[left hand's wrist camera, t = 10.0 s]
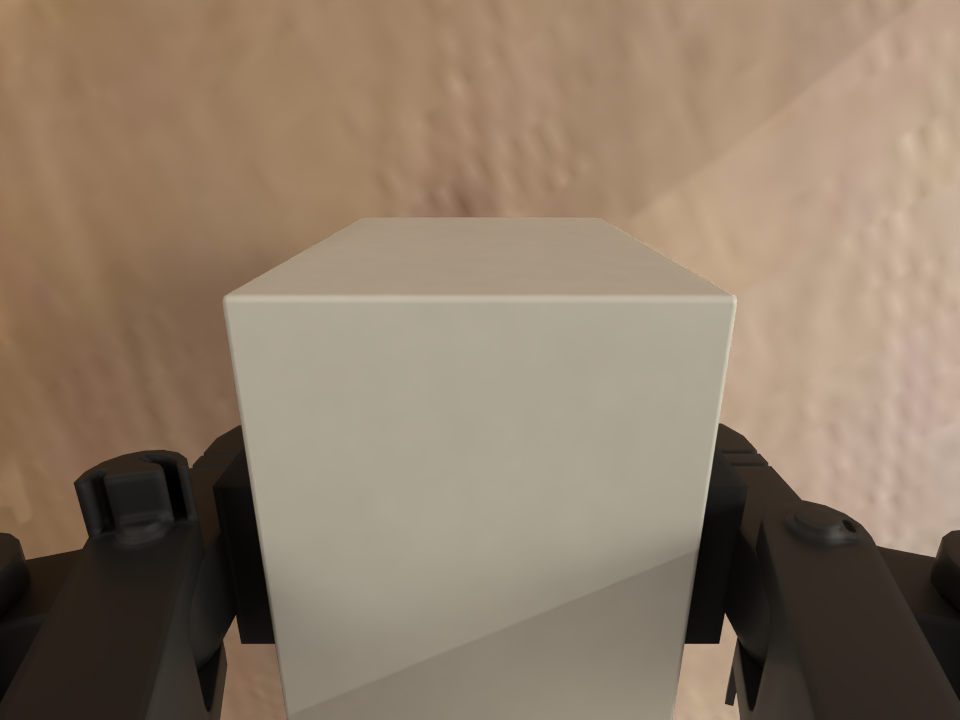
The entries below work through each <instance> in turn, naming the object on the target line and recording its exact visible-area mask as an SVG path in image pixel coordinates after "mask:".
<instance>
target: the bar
mask: <svg viewBox="0 0 960 720" xmlns="http://www.w3.org/2000/svg"><path fill="white" fill-rule="evenodd" d="M736 308H737V299H736V296H734V295H733V294H731V293H729V292H727V291H726V290H724V289H722V288H720V287H719V286H717V285H715V284H713V283H712V282H710V281H708V280H706V279H705V278H703V277H701V276H699V275H698V274H696V273H694V272H693V271H691V270H689V269H687V268H686V267H684V266H682V265H680V264H679V263H677V262H675V261H673V260H672V259H670V258H668V257H666V256H665V255H663V254H661V253H659V252H658V251H656V250H654V249H653V248H651V247H649V246H647V245H646V244H644V243H642V242H640V241H639V240H637V239H635V238H633V237H632V236H630V235H628V234H626V233H625V232H623V231H621V230H619V229H618V228H616V227H614V226H612V225H611V224H609V223H607V222H606V221H604V220H602V219H600V218H510V217H363V218H360V219H359V220H357V221H355V222H353V223H352V224H350V225H348V226H346V227H345V228H343V229H341V230H339V231H338V232H336V233H334V234H332V235H331V236H329V237H327V238H325V239H323V240H322V241H320V242H318V243H316V244H315V245H313V246H311V247H309V248H308V249H306V250H304V251H302V252H301V253H299V254H297V255H295V256H294V257H292V258H290V259H288V260H287V261H285V262H283V263H281V264H279V265H278V266H276V267H274V268H272V269H271V270H269V271H267V272H265V273H264V274H262V275H260V276H258V277H257V278H255V279H253V280H251V281H250V282H248V283H246V284H244V285H243V286H241V287H239V288H237V289H236V290H234V291H232V292H230V293H228V294H227V295H225V296H224V298H223V310H224V316H225V322H226V329H227V335H228V342H229V348H230V355H231V361H232V368H233V374H234V380H235V387H236V393H237V400H238V406H239V413H240V419H241V426H242V432H243V438H244V445H245V451H246V458H247V464H248V471H249V477H250V484H251V490H252V496H253V503H254V509H255V516H256V522H257V529H258V535H259V542H260V548H261V555H262V561H263V567H264V574H265V580H266V587H267V593H268V600H269V606H270V613H271V619H272V625H273V632H274V638H275V645H276V651H277V658H278V664H279V671H280V677H281V683H282V690H283V696H284V703H285V709H286V716H287V720H673V713H674V707H675V701H676V694H677V688H678V681H679V675H680V668H681V662H682V656H683V649H684V643H685V636H686V630H687V623H688V617H689V611H690V604H691V598H692V591H693V585H694V578H695V572H696V566H697V559H698V553H699V546H700V540H701V533H702V527H703V521H704V514H705V508H706V501H707V495H708V488H709V482H710V476H711V469H712V463H713V456H714V450H715V443H716V437H717V431H718V424H719V418H720V411H721V405H722V398H723V392H724V386H725V379H726V373H727V366H728V360H729V353H730V347H731V341H732V334H733V328H734V321H735V315H736Z"/></svg>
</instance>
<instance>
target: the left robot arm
mask: <svg viewBox="0 0 960 720" xmlns="http://www.w3.org/2000/svg"><path fill="white" fill-rule="evenodd" d="M74 486H75V489H76V493H77V496H78V500H79V503H80V507H81V510H82V514H83V518H84V521H85V525H86V528H87V532H88V535H89V538H88V540H87V542H86V544H85V545H84V547H83V549H80V550H76V551H71V552H66V553H61V554H55V555H50V556H45V557H40V558H35V559H29V560H26V559H25V556H24V553H23V550H22V547H21V544H20V541H19V540H18V539H17V538H15V537H14V536H12V535H11V534H8V533H0V720H220V715H221V707H222V700H223V693H224V685H225V678H226V671H227V659H226V652H225V647H224V642H223V638H224V637H225V635H226V633H227V631H228V629H229V627H230V625H231V623H232V621H233V619H234V617H235V615H236V617H237V623H238V628H239V634H240V639H241V644H275V638H274V632H273V625H272V619H271V613H270V606H269V600H268V593H267V587H266V580H265V574H264V567H263V561H262V555H261V548H260V542H259V535H258V529H257V522H256V516H255V509H254V503H253V496H252V490H251V484H250V477H249V471H248V464H247V458H246V451H245V445H244V438H243V432H242V426H241V425H239V426H237V427H236V428H234V429H232V430H230V431H229V432H227V433H225V434H223V435H222V436H220V437H218V438H217V439H216V440H215V441H214V442H213V443H212V444H211V445H210V447H209V448H208V449H207V450H206V451H205V452H204V456H201V457H200V458H199V459H198V460H197V461H196V462H195V463H194V464H193V468H190V469H189V467H188V462H187V458H185V457H184V456H182V455H181V454H179V453H177V452H172V451H166V450H151V451H141V452H136V453H131V454H126V455H122V456H119V457H116V458H113V459H110V460H108V461H105V462H102V463H100V464H98V465H97V466H95V467H93V468H91V469H89V470H88V471H86V472H84V473H83V474H82V475H81V476H80V477H79V478H78V479H77V480H76V481H75V482H74ZM725 613H726V615H727V617H728V619H729V621H730V623H731V625H732V627H733V629H734V631H735V632H736V634H737V636H738V637H737V642H736V647H735V652H734V657H733V662H732V667H731V672H730V677H729V682H728V687H727V693H726V700H725V704H728V705H732V706H733V704H734V699H735V695H736V693H737V699H738V706H739V713H740V720H960V530H957V531H951V532H950V533H948V534H947V535H945V536H944V537H942V540H941V543H940V546H939V549H938V552H937V555H936V558H935V557H930V556H924V555H919V554H914V553H909V552H903V551H898V550H893V549H888V548H883V547H879V546H876V544H875V542H874V541H873V539H872V537H871V535H870V534H869V533H868V532H867V531H866V530H865V528H864V527H863V526H862V525H861V524H860V523H858V522H857V521H855V520H854V519H852V518H851V517H849V516H848V515H846V514H844V513H842V512H840V511H837V510H835V509H832V508H830V507H828V506H825V505H821V504H817V503H813V502H809V501H804V500H801V499H800V498H799V496H798V495H797V494H796V493H795V492H794V491H793V490H792V489H791V488H790V487H789V485H788V484H787V483H786V482H785V481H784V480H783V479H782V478H781V477H780V476H779V474H778V473H777V472H776V471H775V470H774V469H773V468H772V467H771V466H768V462H767V461H766V460H765V459H764V458H763V457H762V456H761V455H760V454H757V450H756V449H755V448H754V447H753V446H752V445H751V444H750V442H749V441H748V440H747V439H746V438H745V437H744V436H743V435H741V434H739V433H737V432H736V431H734V430H732V429H730V428H729V427H727V426H725V425H723V424H718V431H717V437H716V443H715V450H714V456H713V463H712V469H711V476H710V482H709V488H708V495H707V501H706V508H705V514H704V521H703V527H702V533H701V540H700V546H699V553H698V559H697V566H696V572H695V578H694V585H693V591H692V598H691V604H690V611H689V617H688V623H687V630H686V636H685V643H684V644H719V642H720V636H721V631H722V625H723V620H724V615H725Z"/></svg>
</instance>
